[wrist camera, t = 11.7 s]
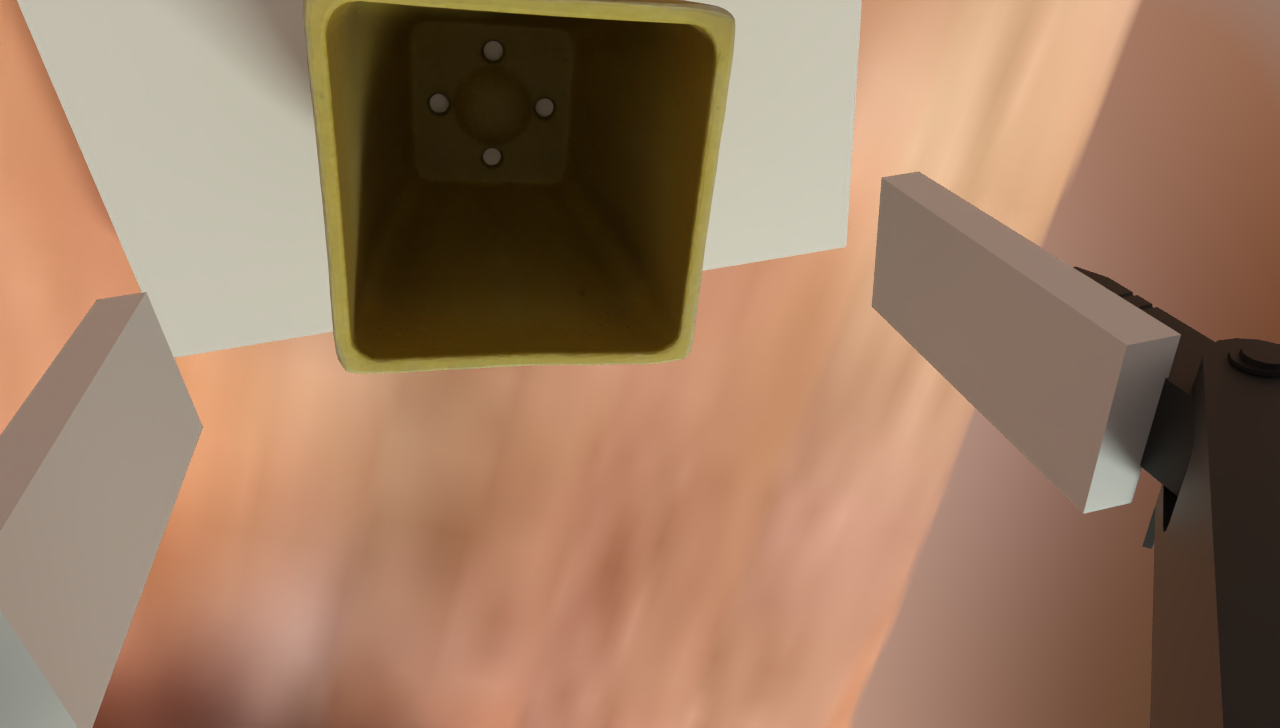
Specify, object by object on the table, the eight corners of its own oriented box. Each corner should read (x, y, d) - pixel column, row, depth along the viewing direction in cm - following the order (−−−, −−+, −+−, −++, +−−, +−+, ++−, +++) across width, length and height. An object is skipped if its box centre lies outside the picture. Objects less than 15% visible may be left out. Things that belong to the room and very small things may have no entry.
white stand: (805, 208, 35) (845, 246, 32) (195, 304, 32) (170, 358, 29) (819, -195, 28) (874, -200, 25) (25, -129, 24) (-37, -124, 21)
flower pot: (648, -41, 25) (744, 9, 18) (622, 234, 30) (691, 366, 22) (335, -68, 23) (297, -25, 16) (357, 232, 28) (335, 377, 20)
